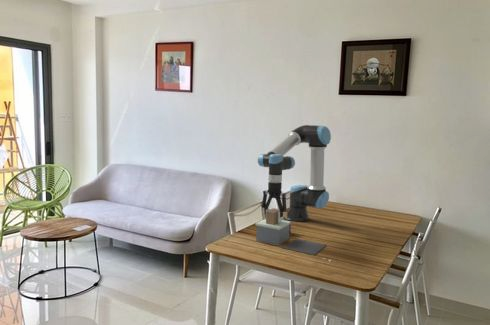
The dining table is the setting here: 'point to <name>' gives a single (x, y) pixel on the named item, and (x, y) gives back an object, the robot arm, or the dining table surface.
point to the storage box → (272, 235)
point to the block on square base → (273, 220)
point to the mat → (304, 246)
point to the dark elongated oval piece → (287, 220)
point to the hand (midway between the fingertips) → (273, 221)
